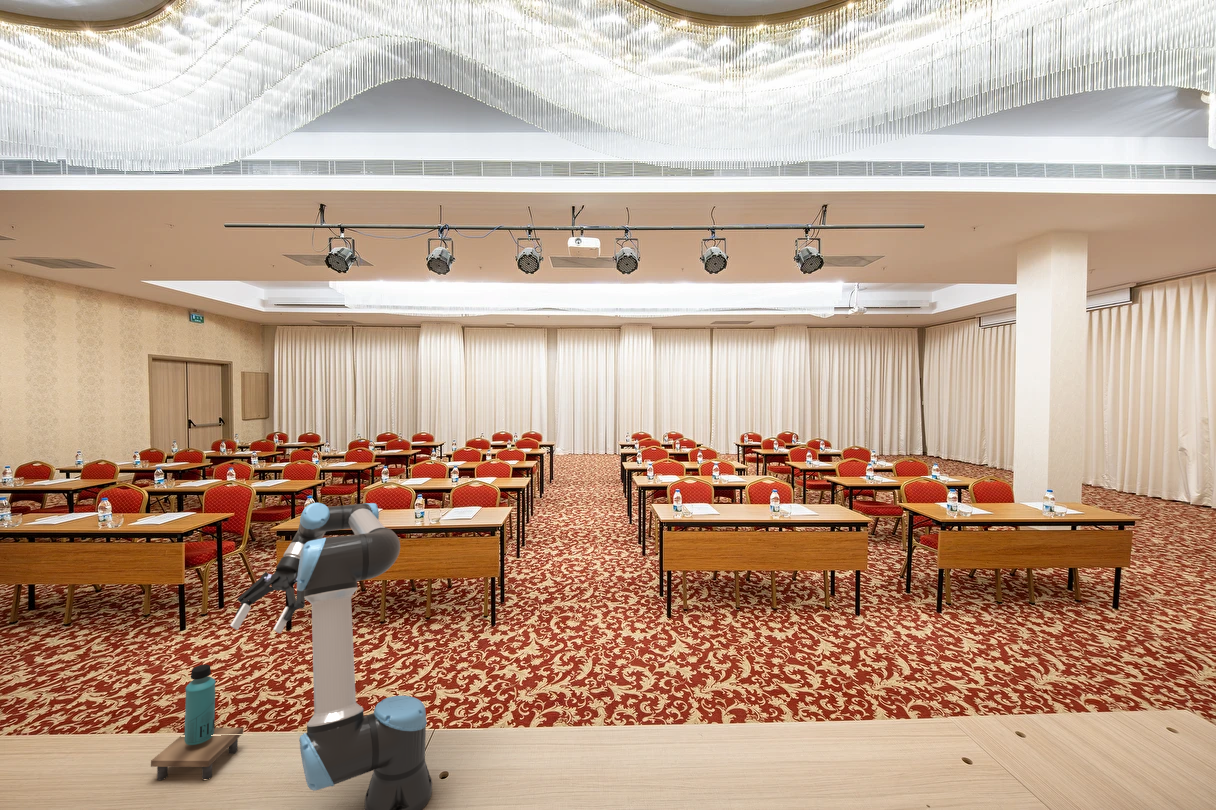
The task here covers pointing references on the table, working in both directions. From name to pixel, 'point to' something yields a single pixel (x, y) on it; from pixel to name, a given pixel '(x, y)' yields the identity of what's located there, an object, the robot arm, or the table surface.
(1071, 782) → the table surface
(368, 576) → the robot arm
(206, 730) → the beverage bottle
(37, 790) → the table surface
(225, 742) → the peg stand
